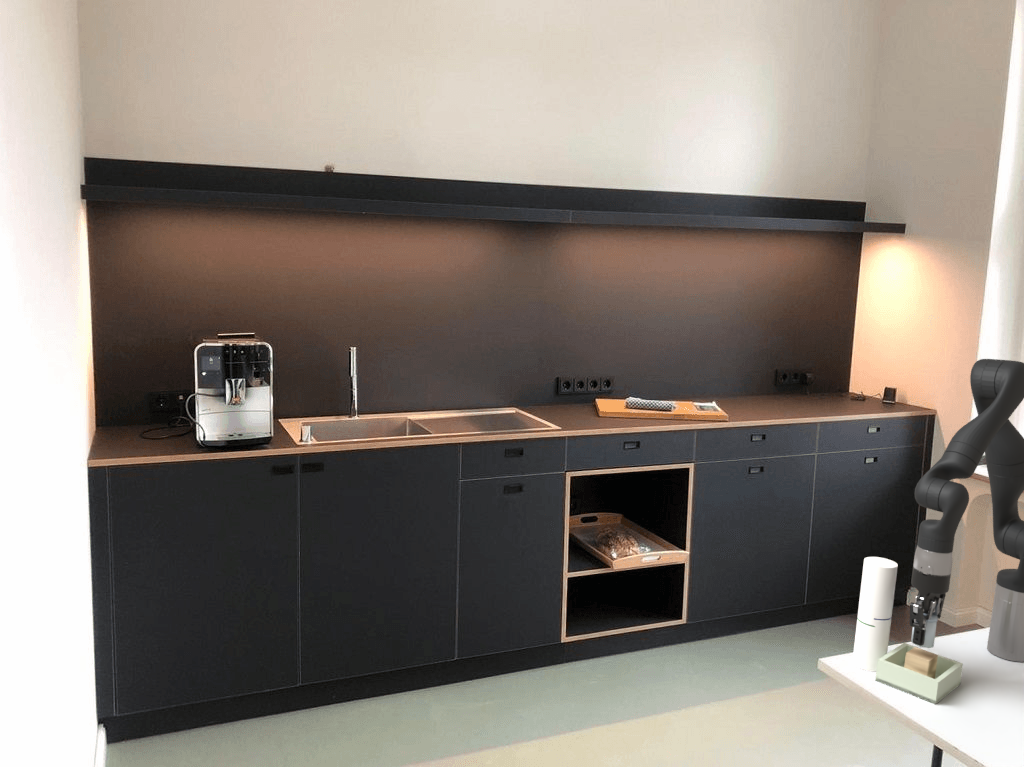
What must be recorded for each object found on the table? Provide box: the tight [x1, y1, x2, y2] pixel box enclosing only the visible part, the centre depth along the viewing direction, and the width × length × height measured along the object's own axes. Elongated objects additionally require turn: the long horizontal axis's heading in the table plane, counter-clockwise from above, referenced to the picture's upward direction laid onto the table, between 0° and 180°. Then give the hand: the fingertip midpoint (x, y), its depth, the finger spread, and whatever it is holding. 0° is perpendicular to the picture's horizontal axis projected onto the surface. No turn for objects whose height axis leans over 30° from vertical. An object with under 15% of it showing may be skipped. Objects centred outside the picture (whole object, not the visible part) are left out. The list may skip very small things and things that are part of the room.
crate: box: [875, 642, 964, 705], centre depth 191 cm, size 14×13×5 cm
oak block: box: [904, 646, 939, 679], centre depth 191 cm, size 5×5×6 cm
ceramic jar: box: [910, 613, 938, 649], centre depth 189 cm, size 5×5×7 cm
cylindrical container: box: [852, 556, 898, 673], centre depth 197 cm, size 7×7×25 cm
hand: (922, 640), depth 190 cm, fingers closed on ceramic jar, 4 cm apart
